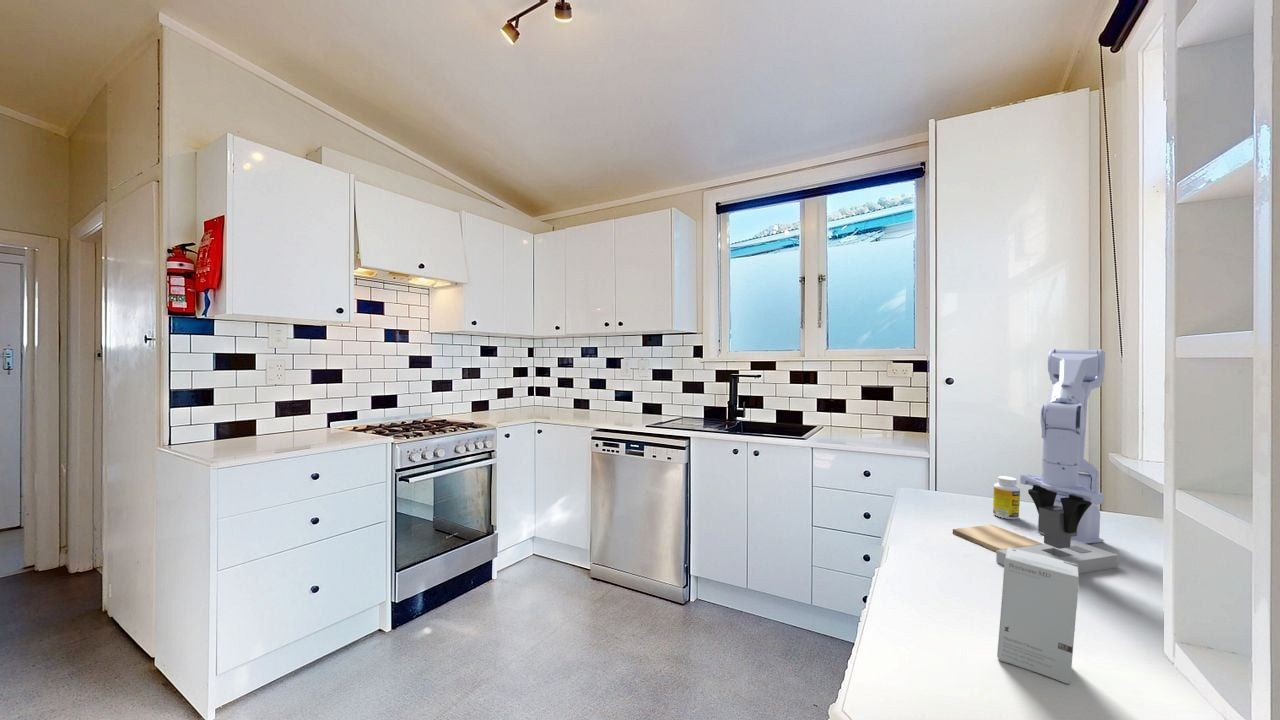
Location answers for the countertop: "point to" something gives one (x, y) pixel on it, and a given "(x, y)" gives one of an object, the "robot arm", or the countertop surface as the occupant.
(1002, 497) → the supplement bottle
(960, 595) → the countertop surface
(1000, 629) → the skincare box
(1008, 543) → the oak board
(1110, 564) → the power strip
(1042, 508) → the block
